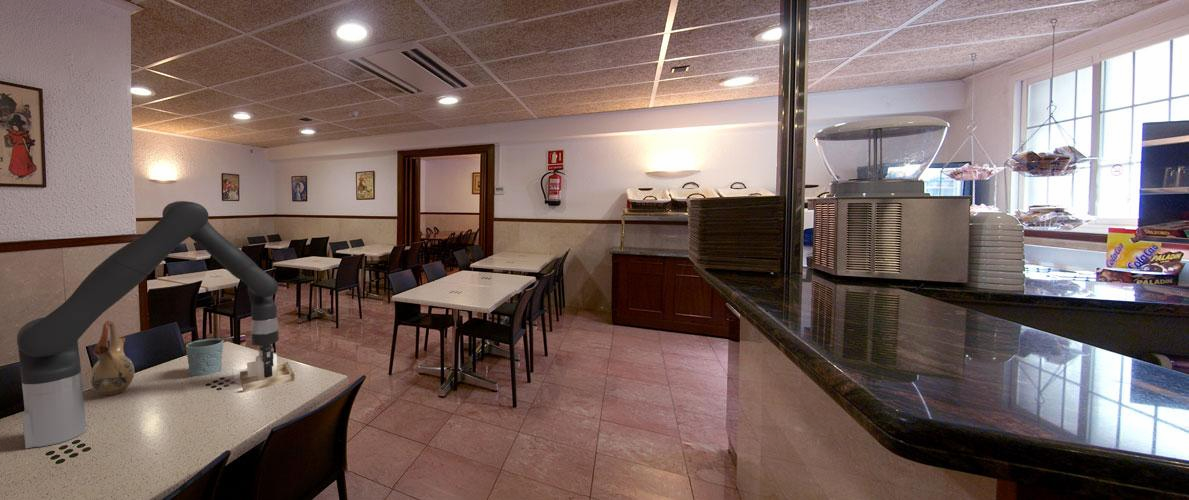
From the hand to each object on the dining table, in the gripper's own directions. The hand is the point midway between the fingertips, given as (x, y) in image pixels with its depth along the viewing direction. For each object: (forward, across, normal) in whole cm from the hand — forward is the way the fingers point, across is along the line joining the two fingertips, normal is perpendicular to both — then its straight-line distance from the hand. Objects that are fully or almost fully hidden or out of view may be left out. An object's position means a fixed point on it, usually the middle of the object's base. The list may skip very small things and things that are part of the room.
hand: (267, 373), depth 141 cm
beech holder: (+3, 0, 0) cm, 3 cm away
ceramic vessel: (+3, -21, -38) cm, 43 cm away
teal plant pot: (+3, -23, -16) cm, 28 cm away
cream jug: (+2, 0, -1) cm, 2 cm away
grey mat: (+3, -12, -4) cm, 13 cm away
